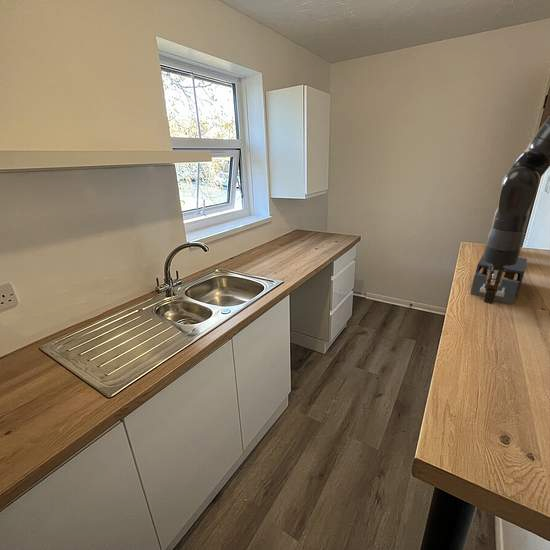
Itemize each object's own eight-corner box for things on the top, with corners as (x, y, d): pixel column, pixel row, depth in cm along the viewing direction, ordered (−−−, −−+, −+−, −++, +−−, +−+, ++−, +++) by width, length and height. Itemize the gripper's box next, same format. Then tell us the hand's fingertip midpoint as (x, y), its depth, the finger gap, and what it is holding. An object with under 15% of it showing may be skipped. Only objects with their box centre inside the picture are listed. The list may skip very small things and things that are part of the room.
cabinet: (516, 297, 98) (524, 271, 94) (471, 288, 105) (477, 263, 102) (520, 282, 108) (527, 258, 104) (479, 274, 115) (484, 252, 112)
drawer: (511, 311, 88) (517, 289, 85) (466, 301, 95) (471, 280, 92) (516, 288, 102) (522, 268, 99) (477, 280, 108) (481, 262, 106)
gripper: (489, 237, 87) (476, 290, 93) (483, 249, 78) (469, 307, 84) (522, 240, 82) (506, 297, 89) (519, 254, 73) (501, 315, 80)
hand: (488, 302), depth 87 cm, fingers closed
